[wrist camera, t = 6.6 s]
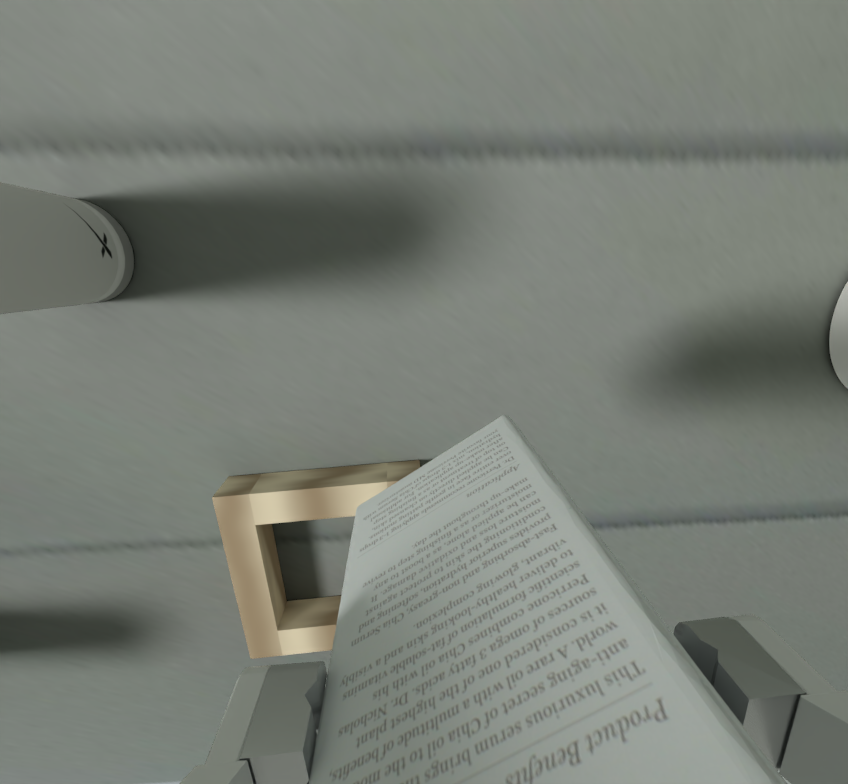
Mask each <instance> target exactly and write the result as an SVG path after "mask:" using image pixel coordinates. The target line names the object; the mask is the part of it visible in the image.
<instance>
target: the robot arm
mask: <svg viewBox="0 0 848 784" xmlns="http://www.w3.org/2000/svg"><path fill="white" fill-rule="evenodd" d="M829 348H830V356H831V361H832V364H833V367H834V370H835V372H836V374H837V376H838V378H839V379H840V381H841V382H842V383H843V385H844V386H845V387H846V388H847V389H848V281H847V283H846V285H845V287H844V289H843V291H842V293H841V295H840V297H839V299H838V302H837V305H836V307H835V311H834V314H833V318H832V322H831V327H830V337H829ZM674 636H675V637H676V638H677V640H678V641H679V642H680V644H681V645H682V646H683V648H684V649H685V650H686V652H687V653H688V654H689V656H690V657H691V658H692V660H693V661H694V662H695V664H696V665H697V666H698V668H699V669H700V670H701V672H702V673H703V674H704V676H705V677H706V678H707V680H708V681H709V682H710V683H711V685H712V686H713V687H714V689H715V690H716V691H717V693H718V694H719V695H720V696H721V698H722V699H723V700H724V702H725V703H726V704H727V706H728V707H729V708H730V710H731V711H732V712H733V713H734V715H735V716H736V717H737V719H738V720H739V721H740V723H741V724H742V725H743V726H744V728H745V729H746V730H747V732H748V733H749V734H750V736H751V737H752V738H753V740H754V741H755V742H756V743H757V745H758V746H759V747H760V749H761V750H762V751H763V753H764V754H765V755H766V757H767V758H768V759H769V760H770V762H771V763H772V764H773V766H774V767H775V768H776V770H777V771H778V770H780V772H779V774H780V775H782V776H783V777H784V778H785V779H786V780H788V781H789V782H790V783H791V784H848V692H847V691H837V690H835V689H834V688H833V687H832V686H831V685H830V684H829V683H828V682H827V681H826V680H825V679H824V678H823V677H822V676H821V675H820V674H819V673H818V672H817V671H816V670H814V669H813V668H812V667H811V666H810V665H809V664H808V663H807V662H806V661H805V660H804V659H803V658H802V657H801V656H800V655H799V654H798V653H797V652H796V651H795V650H794V649H792V648H791V647H790V646H789V645H788V644H787V643H786V642H785V641H784V640H783V639H782V638H781V637H780V636H779V635H778V634H777V633H776V632H775V631H774V630H773V629H772V628H770V627H769V626H768V625H767V624H766V623H765V622H764V621H763V620H762V619H761V618H759V617H757V616H755V615H753V614H750V615H741V616H731V617H718V618H710V619H702V620H694V621H686V622H679V623H678V624H677V625H676V627H675V630H674ZM326 677H327V672H326V667H325V663H324V662H323V661H319V662H306V663H293V664H280V665H270V666H259V667H248V668H245V669H244V670H243V671H242V673H241V674H240V676H239V677H238V680H237V682H236V685H235V687H234V690H233V693H232V695H231V698H230V700H229V703H228V706H227V708H226V711H225V713H224V716H223V719H222V721H221V724H220V726H219V729H218V731H217V734H216V737H215V739H214V742H213V744H212V747H211V750H210V752H209V755H208V757H207V760H206V763H205V765H198V766H195V767H194V768H193V770H192V771H191V772H190V773H189V774H188V775H187V776H186V777H185V778H184V779H183V780H182V782H181V783H180V784H309V780H310V774H311V768H312V762H313V756H314V750H315V745H316V740H317V734H318V728H319V722H320V716H321V710H322V705H323V698H324V692H325V683H326Z"/></svg>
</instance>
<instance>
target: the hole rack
mask: <svg viewBox="0 0 848 784" xmlns="http://www.w3.org/2000/svg"><path fill="white" fill-rule="evenodd" d="M418 468H420V460H413V461H401V462H390V463H378V464H367V465H355V466H344V467H333V468H321V469H310V470H298V471H287V472H275V473H264V474H252V475H241V476H230V477H228V478H227V479H226V481H225V482H224V483H223V484H222V486H221V487H220V488H219V489H218V491H217V492H216V493H215V494H214V496H213V497H212V499H213V504H214V508H215V512H216V516H217V520H218V524H219V529H220V533H221V537H222V541H223V545H224V549H225V554H226V558H227V562H228V566H229V570H230V574H231V578H232V583H233V587H234V591H235V595H236V599H237V603H238V608H239V612H240V616H241V620H242V624H243V628H244V633H245V637H246V641H247V645H248V649H249V653H250V658H251V659H254V658H263V657H272V656H281V655H290V654H300V653H309V652H318V651H327V650H332V647H333V641H334V635H335V631H336V624H337V618H338V613H339V607H340V602H341V596H332V597H322V598H313V599H303V600H293V601H287V599H286V594H285V589H284V584H283V579H282V573H281V568H280V563H279V558H278V553H277V548H276V543H275V538H274V533H273V528H272V524H273V523H284V522H294V521H305V520H316V519H326V518H337V517H348V516H355V515H356V509H357V507H358V506H359V505H361V504H362V503H364V502H366V501H367V500H369V499H371V498H372V497H374V496H376V495H377V494H379V493H380V492H382V491H384V490H385V489H387V488H388V487H390V486H391V485H393V484H395V483H396V482H398V481H399V480H401V479H403V478H404V477H406V476H407V475H409V474H411V473H412V472H414V471H415V470H417V469H418Z"/></svg>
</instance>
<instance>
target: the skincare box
mask: <svg viewBox="0 0 848 784" xmlns="http://www.w3.org/2000/svg"><path fill="white" fill-rule="evenodd" d="M309 784H787V783H786V781H785V780H784V779H783V778H782V776H781V775H780V774H779V772H778V771H777V770H776V768H775V767H774V766H773V764H772V763H771V762H770V760H769V759H768V758H767V757H766V755H765V754H764V753H763V751H762V750H761V749H760V747H759V746H758V745H757V743H756V742H755V741H754V740H753V738H752V737H751V736H750V734H749V733H748V732H747V730H746V729H745V728H744V726H743V725H742V724H741V723H740V721H739V720H738V719H737V717H736V716H735V715H734V713H733V712H732V711H731V710H730V708H729V707H728V706H727V704H726V703H725V702H724V700H723V699H722V698H721V696H720V695H719V694H718V693H717V691H716V690H715V689H714V687H713V686H712V685H711V683H710V682H709V681H708V680H707V678H706V677H705V676H704V674H703V673H702V672H701V670H700V669H699V668H698V666H697V665H696V664H695V662H694V661H693V660H692V658H691V657H690V656H689V654H688V653H687V652H686V650H685V649H684V648H683V646H682V645H681V644H680V642H679V641H678V640H677V638H676V637H675V636H674V634H673V633H672V632H671V630H670V629H669V628H668V626H667V625H666V624H665V622H664V621H663V620H662V618H661V617H660V616H659V614H658V613H657V612H656V610H655V609H654V608H653V607H652V605H651V604H650V603H649V601H648V600H647V599H646V597H645V596H644V595H643V593H642V592H641V591H640V589H639V588H638V587H637V585H636V584H635V583H634V581H633V580H632V579H631V577H630V576H629V575H628V573H627V572H626V571H625V569H624V568H623V567H622V565H621V564H620V563H619V561H618V560H617V559H616V557H615V556H614V555H613V553H612V552H611V551H610V550H609V548H608V547H607V546H606V544H605V543H604V542H603V540H602V539H601V538H600V536H599V535H598V534H597V532H596V531H595V530H594V528H593V527H592V526H591V524H590V523H589V522H588V520H587V519H586V518H585V516H584V515H583V514H582V512H581V511H580V510H579V508H578V507H577V505H576V504H575V503H574V501H573V500H572V499H571V497H570V496H569V495H568V493H567V492H566V491H565V489H564V488H563V487H562V485H561V484H560V483H559V481H558V480H557V479H556V477H555V476H554V475H553V473H552V472H551V471H550V469H549V468H548V467H547V465H546V464H545V463H544V461H543V460H542V459H541V457H540V456H539V455H538V454H537V452H536V451H535V450H534V448H533V447H532V446H531V444H530V443H529V441H528V440H527V439H526V437H525V436H524V435H523V433H522V432H521V431H520V429H519V428H518V427H517V425H516V424H515V423H514V422H513V420H512V419H511V418H510V417H509V416H507V415H503V416H501V417H499V418H498V419H496V420H495V421H493V422H492V423H490V424H488V425H487V426H485V427H484V428H482V429H480V430H479V431H477V432H476V433H474V434H472V435H471V436H469V437H468V438H466V439H465V440H463V441H461V442H460V443H458V444H457V445H455V446H453V447H452V448H450V449H449V450H447V451H445V452H444V453H442V454H441V455H439V456H437V457H436V458H434V459H433V460H431V461H430V462H428V463H426V464H425V465H423V466H422V467H420V468H418V469H417V470H415V471H414V472H412V473H411V474H409V475H407V476H406V477H404V478H403V479H401V480H399V481H398V482H396V483H395V484H393V485H391V486H390V487H388V488H387V489H385V490H384V491H382V492H380V493H379V494H377V495H376V496H374V497H372V498H371V499H369V500H367V501H366V502H364V503H362V504H361V505H359V506H358V507H357V509H356V515H355V521H354V527H353V531H352V537H351V543H350V549H349V555H348V560H347V565H346V571H345V578H344V584H343V590H342V596H341V602H340V607H339V613H338V618H337V624H336V631H335V635H334V641H333V647H332V653H331V658H330V664H329V669H328V675H327V681H326V687H325V692H324V698H323V705H322V710H321V716H320V722H319V728H318V734H317V740H316V745H315V750H314V756H313V762H312V768H311V774H310V780H309Z"/></svg>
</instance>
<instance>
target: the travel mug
mask: <svg viewBox="0 0 848 784" xmlns="http://www.w3.org/2000/svg"><path fill="white" fill-rule="evenodd" d="M133 269H134V255H133V250H132V246H131V244H130V241H129V238H128V236H127V235H126V233H125V231H124V230H123V228H122V227H121V226H120V224H119V223H118V222H117V221H116V220H115V219H114V218H113V217H112V216H111V215H110V214H109V213H107V212H106V211H105V210H103V209H102V208H100V207H98V206H97V205H94V204H92V203H89V202H87V201H84V200H79V199H74V198H70V197H65V196H61V195H56V194H51V193H47V192H42V191H37V190H33V189H28V188H24V187H19V186H14V185H10V184H5V183H1V182H0V314H6V313H14V312H23V311H31V310H39V309H48V308H56V307H65V306H73V305H81V304H90V303H98V302H103V301H107V300H110V299H112V298H114V297H116V296H117V295H119V294H120V293H121V292H123V290H124V289H125V288H126V287H127V285H128V284H129V282H130V280H131V277H132V274H133Z"/></svg>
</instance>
